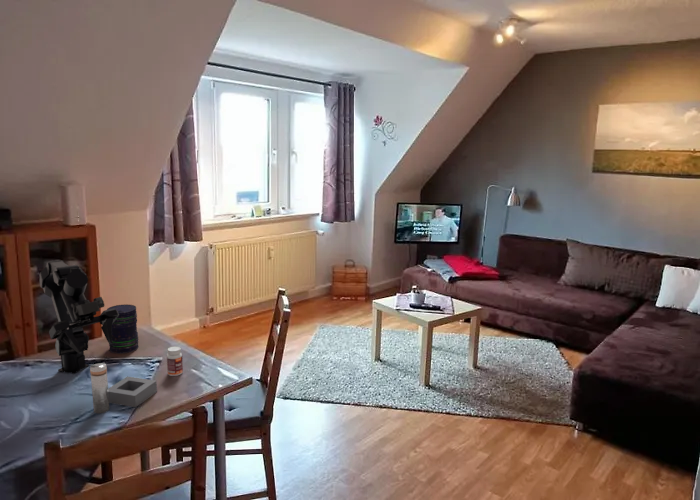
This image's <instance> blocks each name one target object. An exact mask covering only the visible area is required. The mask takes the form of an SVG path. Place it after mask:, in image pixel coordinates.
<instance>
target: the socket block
mask: <svg viewBox="0 0 700 500" xmlns="http://www.w3.org/2000/svg"><path fill="white" fill-rule="evenodd" d="M157 392H158V386H157V380H155V379H154V380H153V379H146V378H141V377H134V376H128V375H127V376H126V377H124V378H123V379H121V380H120V381H118V382H116V383H115V384H113V385H112V386H110V387H108V394H109V404H112V405H120V406H127V407H131V408H136V407H138V406H139V405H141V404H142V403H144V402H145V401H146V400H148V399H149V398H150V397H151V396H153V395H155V393H157Z"/></svg>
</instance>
